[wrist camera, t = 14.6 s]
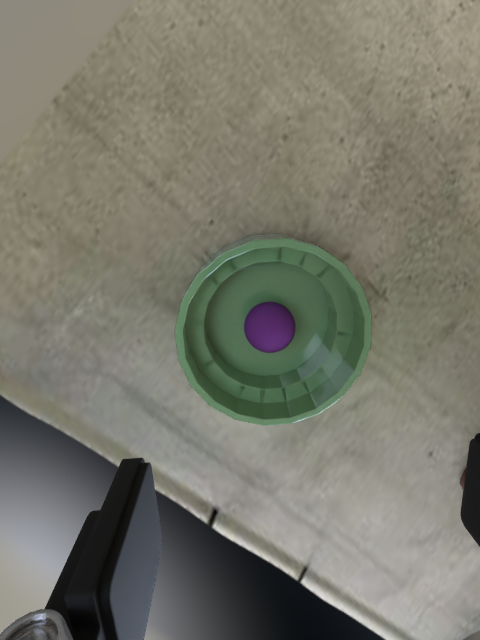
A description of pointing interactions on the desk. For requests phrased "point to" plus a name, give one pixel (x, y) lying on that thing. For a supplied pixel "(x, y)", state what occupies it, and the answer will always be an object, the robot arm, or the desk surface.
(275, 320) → the ball
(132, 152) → the desk surface
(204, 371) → the green bowl
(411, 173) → the desk surface
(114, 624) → the robot arm
